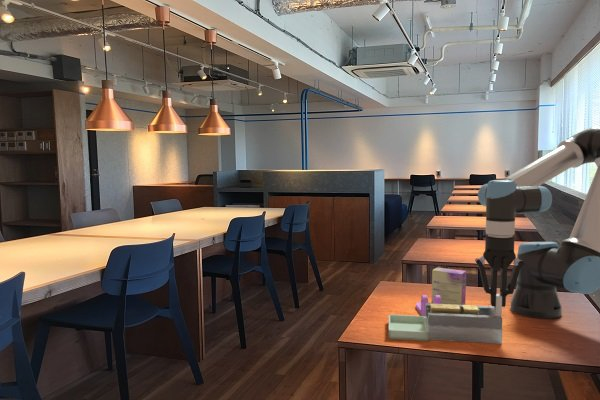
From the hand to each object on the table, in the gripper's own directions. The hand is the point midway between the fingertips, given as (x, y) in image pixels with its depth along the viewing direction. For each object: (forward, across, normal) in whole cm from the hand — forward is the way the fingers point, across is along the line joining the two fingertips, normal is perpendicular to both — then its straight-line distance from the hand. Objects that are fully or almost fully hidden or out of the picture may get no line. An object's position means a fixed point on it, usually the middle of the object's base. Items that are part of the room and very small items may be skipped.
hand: (497, 317), depth 138 cm
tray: (+6, +25, 0) cm, 26 cm away
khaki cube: (+2, +16, 0) cm, 17 cm away
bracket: (+6, +18, -20) cm, 27 cm away
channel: (+5, +10, 0) cm, 11 cm away
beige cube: (+1, +8, 0) cm, 8 cm away
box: (+6, +10, -30) cm, 32 cm away
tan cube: (+2, +12, 0) cm, 13 cm away
